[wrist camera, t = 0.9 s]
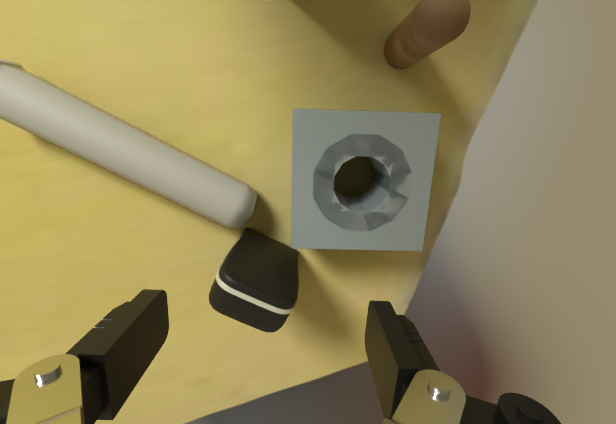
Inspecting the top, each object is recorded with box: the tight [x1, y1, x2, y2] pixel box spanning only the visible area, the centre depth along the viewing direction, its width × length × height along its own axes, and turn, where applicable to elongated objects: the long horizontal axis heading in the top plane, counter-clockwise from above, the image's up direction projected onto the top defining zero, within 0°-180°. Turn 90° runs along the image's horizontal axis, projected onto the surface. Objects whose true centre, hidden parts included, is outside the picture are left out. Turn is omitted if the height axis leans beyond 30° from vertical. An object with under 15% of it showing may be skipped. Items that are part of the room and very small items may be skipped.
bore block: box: [291, 109, 441, 251], centre depth 29 cm, size 12×12×6 cm
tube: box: [0, 59, 257, 228], centre depth 29 cm, size 5×5×25 cm
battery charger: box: [209, 228, 299, 332], centre depth 28 cm, size 7×4×11 cm, turn 63°
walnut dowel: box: [384, 0, 470, 69], centre depth 24 cm, size 3×3×9 cm
